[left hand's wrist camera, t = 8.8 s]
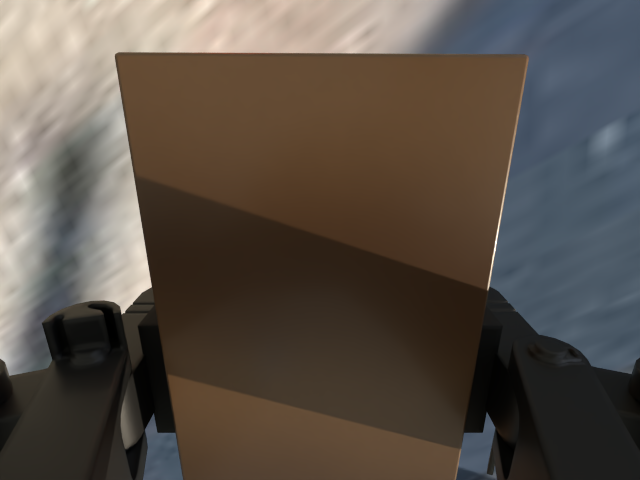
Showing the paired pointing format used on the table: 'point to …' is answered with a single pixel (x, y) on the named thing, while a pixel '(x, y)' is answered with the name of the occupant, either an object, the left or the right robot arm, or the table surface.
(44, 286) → the table surface
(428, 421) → the post
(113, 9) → the table surface
